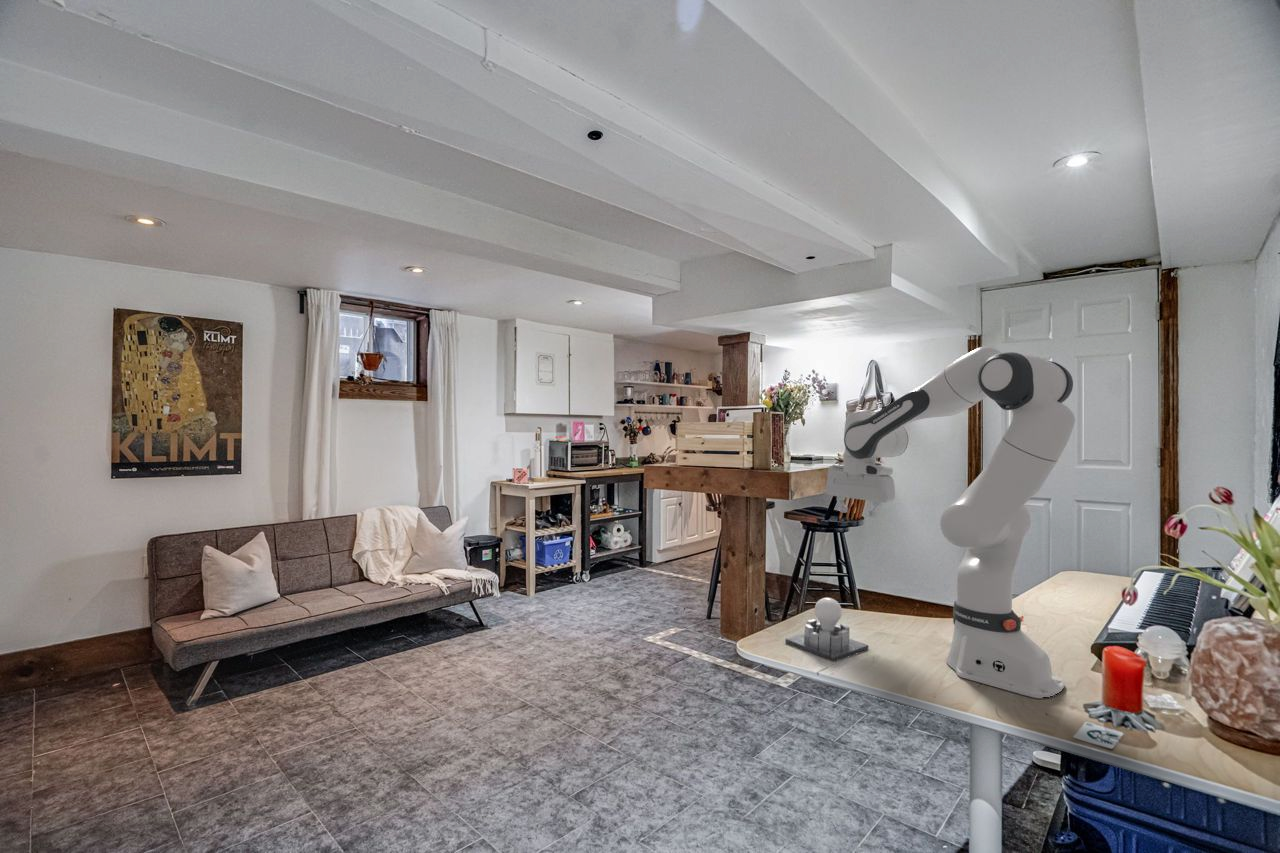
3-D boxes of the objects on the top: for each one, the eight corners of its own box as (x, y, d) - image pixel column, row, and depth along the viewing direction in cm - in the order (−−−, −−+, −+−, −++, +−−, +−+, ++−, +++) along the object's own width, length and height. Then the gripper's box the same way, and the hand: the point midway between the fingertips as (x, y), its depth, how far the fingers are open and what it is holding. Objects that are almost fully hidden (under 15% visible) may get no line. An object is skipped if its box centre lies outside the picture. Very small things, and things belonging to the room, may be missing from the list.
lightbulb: (814, 645, 145) (815, 600, 145) (813, 636, 151) (814, 593, 151) (841, 648, 143) (842, 603, 143) (840, 639, 149) (841, 595, 149)
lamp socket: (868, 649, 146) (868, 628, 146) (833, 662, 137) (834, 640, 137) (820, 631, 157) (821, 613, 157) (785, 642, 149) (786, 622, 149)
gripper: (822, 464, 177) (820, 510, 177) (885, 469, 161) (884, 520, 161) (835, 463, 181) (833, 508, 181) (898, 469, 165) (896, 519, 165)
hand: (858, 514), depth 171 cm, fingers open, 8 cm apart
